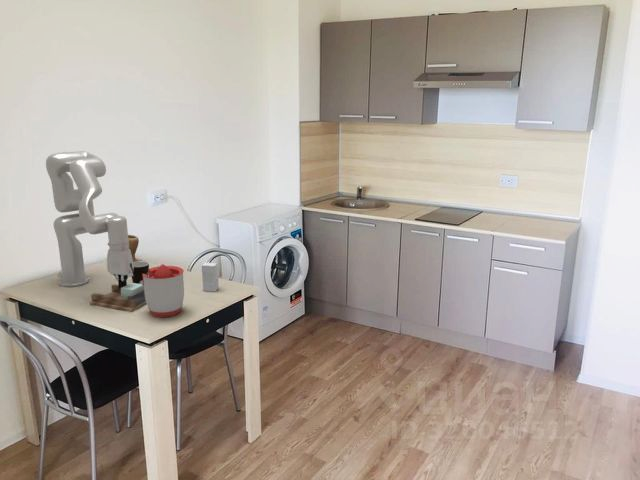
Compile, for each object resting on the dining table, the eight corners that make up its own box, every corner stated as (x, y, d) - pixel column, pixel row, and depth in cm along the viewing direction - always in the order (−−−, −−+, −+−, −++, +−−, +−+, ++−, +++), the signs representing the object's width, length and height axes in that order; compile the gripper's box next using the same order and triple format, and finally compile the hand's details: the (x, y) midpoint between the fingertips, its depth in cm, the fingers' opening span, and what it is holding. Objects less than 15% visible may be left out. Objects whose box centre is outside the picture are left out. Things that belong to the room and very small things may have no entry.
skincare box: (218, 288, 241) (217, 263, 238) (215, 291, 237) (214, 266, 234) (205, 287, 242) (204, 262, 239) (202, 291, 238) (201, 265, 235)
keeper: (121, 301, 220) (120, 288, 219) (133, 296, 227) (131, 282, 225) (133, 303, 218) (132, 290, 217) (144, 298, 225) (143, 284, 223)
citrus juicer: (150, 303, 223) (147, 257, 218) (191, 305, 221) (188, 259, 216) (134, 318, 208) (130, 269, 203) (177, 320, 206) (174, 271, 201)
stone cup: (145, 263, 277) (143, 235, 273) (124, 268, 267) (122, 239, 263) (127, 258, 285) (125, 230, 281) (107, 263, 276) (104, 235, 272)
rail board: (89, 304, 221) (88, 290, 219) (116, 292, 235) (115, 278, 234) (131, 312, 214) (130, 297, 212) (156, 298, 228) (155, 284, 227)
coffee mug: (144, 288, 240) (142, 267, 237) (127, 287, 241) (125, 266, 239) (157, 280, 251) (155, 260, 248) (140, 279, 252) (138, 258, 250)
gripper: (97, 247, 217) (102, 289, 222) (128, 250, 213) (131, 294, 217) (110, 242, 224) (114, 284, 229) (140, 246, 219) (143, 288, 224)
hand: (123, 288), depth 223 cm, fingers closed
